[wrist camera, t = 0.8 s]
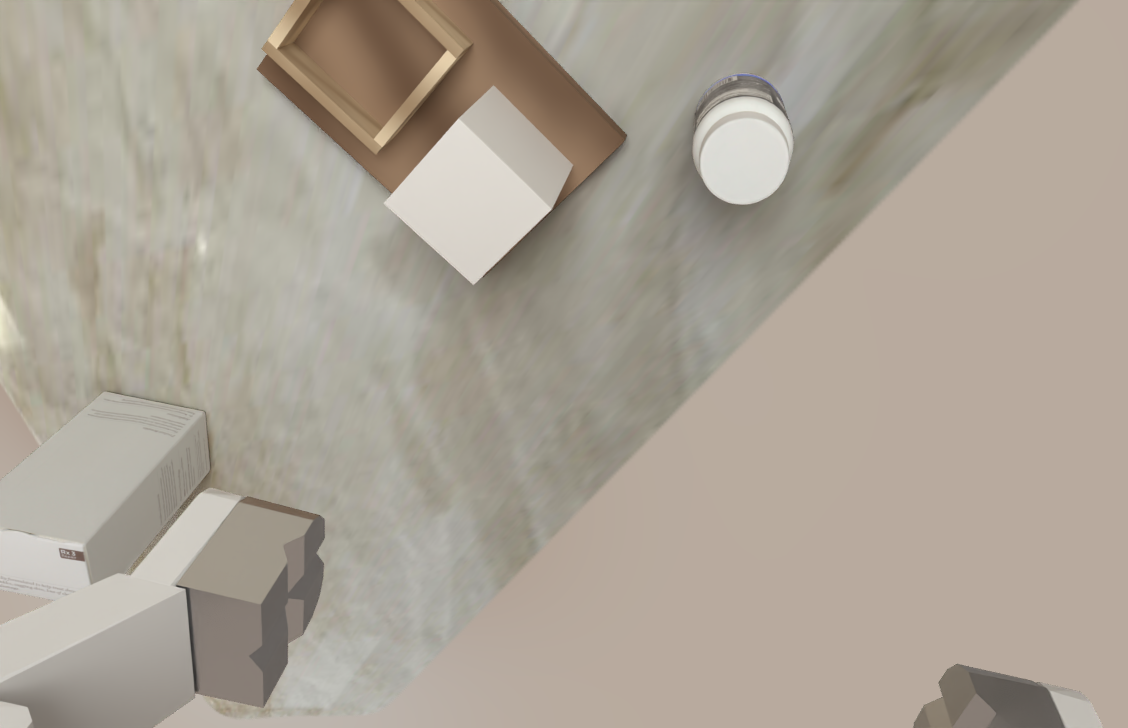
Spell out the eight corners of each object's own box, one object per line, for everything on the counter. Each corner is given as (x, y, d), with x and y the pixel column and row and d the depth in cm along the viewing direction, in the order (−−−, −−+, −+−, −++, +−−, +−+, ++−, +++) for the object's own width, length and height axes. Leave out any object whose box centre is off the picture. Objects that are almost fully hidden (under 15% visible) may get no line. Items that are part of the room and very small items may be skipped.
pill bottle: (779, 161, 44) (792, 216, 37) (692, 159, 45) (688, 213, 38) (789, 70, 42) (805, 110, 35) (697, 70, 43) (693, 109, 35)
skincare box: (116, 447, 64) (-32, 588, 51) (104, 384, 60) (-57, 518, 48) (218, 470, 63) (94, 618, 50) (211, 407, 60) (78, 549, 47)
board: (390, -112, 40) (350, -111, 36) (626, 134, 45) (617, 162, 40) (266, 65, 46) (219, 85, 42) (488, 269, 50) (466, 306, 46)
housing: (493, 85, 43) (458, 118, 37) (573, 165, 45) (551, 209, 39) (425, 161, 46) (383, 203, 40) (503, 234, 48) (473, 285, 42)
